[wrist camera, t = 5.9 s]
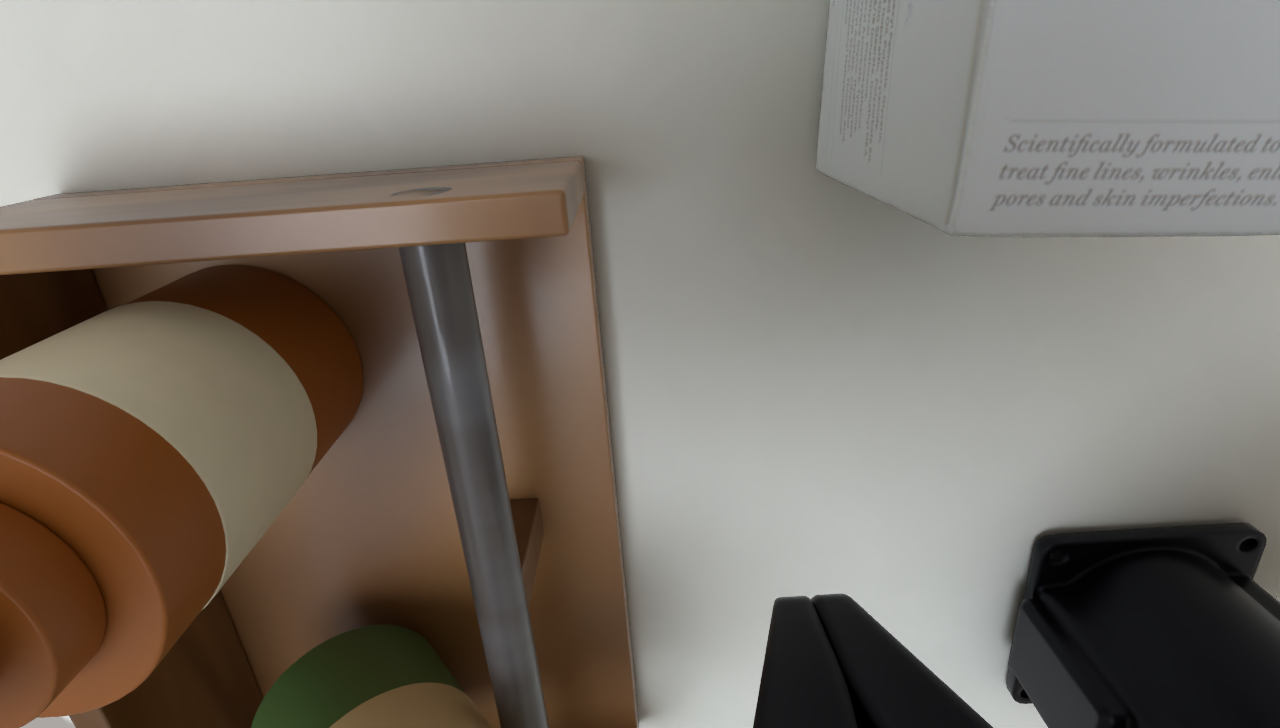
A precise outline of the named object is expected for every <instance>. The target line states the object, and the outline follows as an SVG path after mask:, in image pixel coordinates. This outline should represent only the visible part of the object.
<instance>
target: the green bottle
mask: <svg viewBox="0 0 1280 728" xmlns="http://www.w3.org/2000/svg"><path fill="white" fill-rule="evenodd" d="M251 728H492V727H491V726H490V725H489V723H488V722H487V720H486V719H485V718H484V716H483V715H482V714H481V712H480V711H479V709H478V708H477V707H476V705H475V704H474V702H473V701H472V700H471V699H470V698H469V697H468V696H467V694H466V693H465V692H464V691H463V689H462V688H461V687H460V685H459V684H458V682H457V681H456V680H455V678H454V677H453V675H452V674H451V673H450V671H449V670H448V669H447V667H446V666H445V664H444V663H443V662H442V660H441V659H440V657H439V656H438V655H437V653H436V652H435V651H434V649H433V648H432V646H431V645H430V644H429V643H428V641H427V640H426V639H425V638H424V637H422V636H421V635H420V634H418V633H417V632H415V631H413V630H411V629H408V628H405V627H401V626H396V625H371V626H364V627H360V628H356V629H352V630H350V631H347V632H344V633H341V634H339V635H337V636H334V637H332V638H330V639H328V640H326V641H324V642H323V643H321V644H319V645H317V646H316V647H314V648H313V649H311V650H310V651H308V652H307V653H306V654H304V655H303V656H302V657H300V658H299V659H298V660H297V661H296V662H294V663H293V664H292V665H291V666H290V667H289V668H288V669H287V670H286V671H285V672H284V673H283V674H282V675H281V676H280V677H279V678H278V679H277V681H276V682H275V683H274V684H273V685H272V687H271V688H270V690H269V691H268V692H267V694H266V695H265V697H264V698H263V700H262V702H261V704H260V706H259V708H258V710H257V712H256V714H255V717H254V720H253V722H252V726H251Z"/></svg>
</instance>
